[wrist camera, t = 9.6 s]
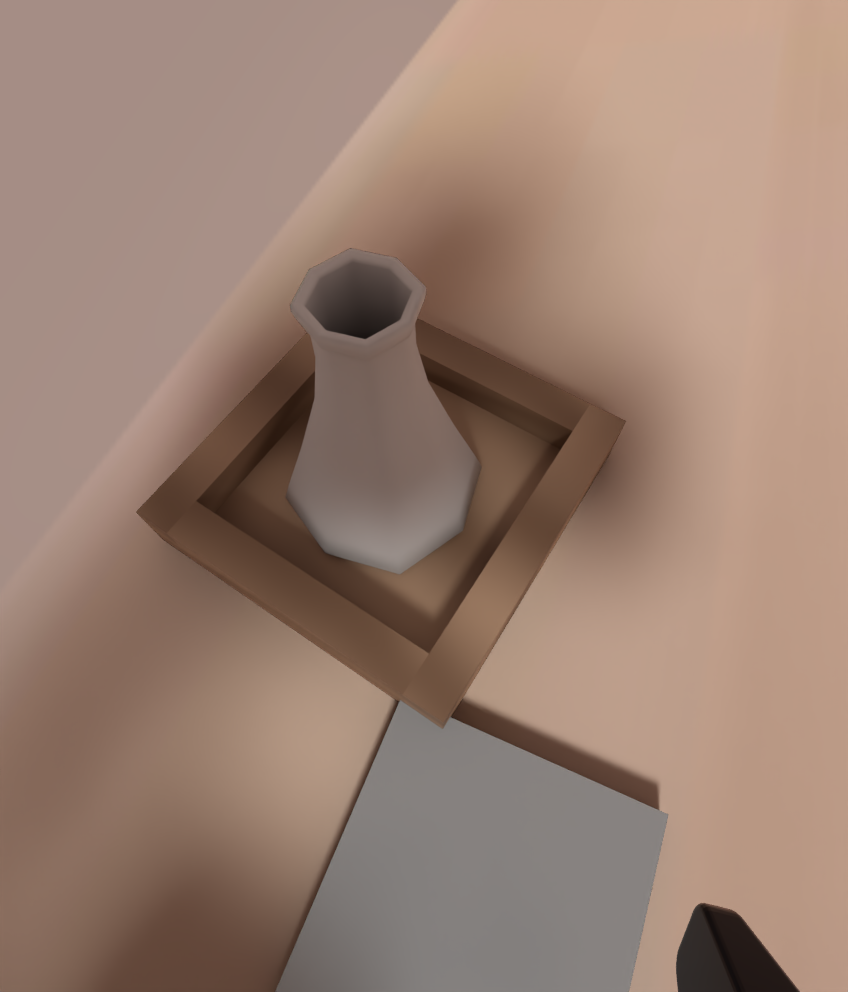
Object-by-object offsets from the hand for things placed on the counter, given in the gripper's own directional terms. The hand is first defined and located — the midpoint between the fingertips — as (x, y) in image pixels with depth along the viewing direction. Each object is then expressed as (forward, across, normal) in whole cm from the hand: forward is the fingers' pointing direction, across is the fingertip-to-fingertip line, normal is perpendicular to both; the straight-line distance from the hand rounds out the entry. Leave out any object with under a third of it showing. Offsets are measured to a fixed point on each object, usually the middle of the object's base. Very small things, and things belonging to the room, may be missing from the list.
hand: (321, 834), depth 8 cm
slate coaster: (+8, -3, +11) cm, 14 cm away
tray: (+18, +3, +2) cm, 18 cm away
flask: (+17, +3, +1) cm, 17 cm away
